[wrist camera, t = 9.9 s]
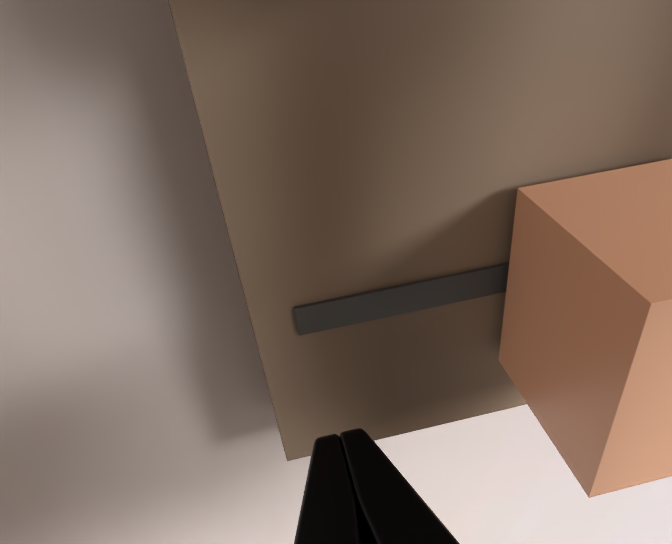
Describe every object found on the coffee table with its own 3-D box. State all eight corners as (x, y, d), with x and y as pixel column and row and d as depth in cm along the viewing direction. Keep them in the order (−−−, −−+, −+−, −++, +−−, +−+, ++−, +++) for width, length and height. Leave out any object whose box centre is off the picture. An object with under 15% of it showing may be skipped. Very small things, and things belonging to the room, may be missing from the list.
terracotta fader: (691, 155, 11) (890, 251, 8) (637, 328, 14) (766, 451, 11) (517, 188, 11) (651, 303, 7) (498, 360, 14) (589, 497, 10)
